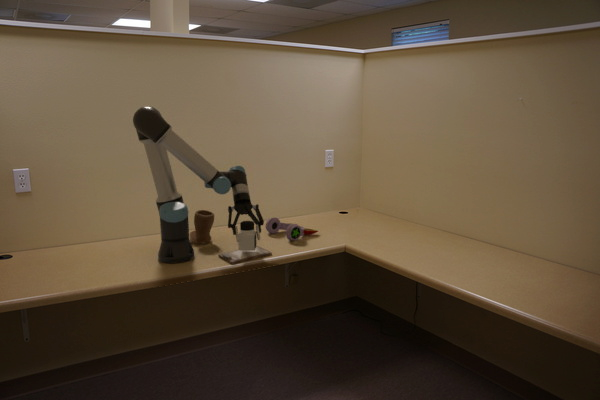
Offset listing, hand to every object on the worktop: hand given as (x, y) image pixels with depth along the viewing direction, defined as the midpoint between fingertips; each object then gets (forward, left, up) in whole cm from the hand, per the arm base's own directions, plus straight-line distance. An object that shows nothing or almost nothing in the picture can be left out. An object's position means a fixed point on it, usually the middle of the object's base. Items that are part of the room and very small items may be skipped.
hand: (248, 239), depth 193 cm
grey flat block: (0, +3, -8) cm, 9 cm away
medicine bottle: (+1, +3, -5) cm, 6 cm away
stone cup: (-5, +35, -8) cm, 36 cm away
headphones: (+36, +17, -9) cm, 41 cm away
